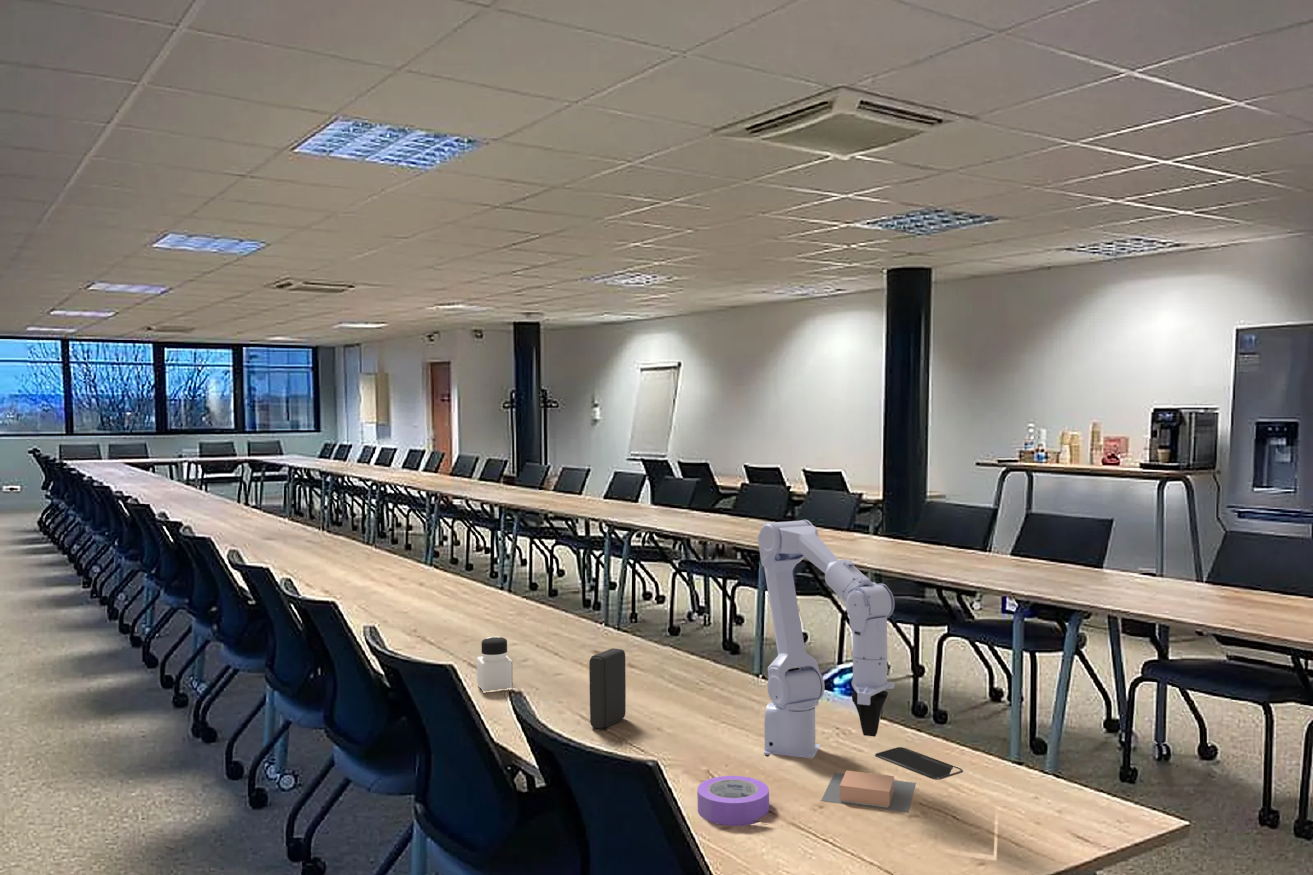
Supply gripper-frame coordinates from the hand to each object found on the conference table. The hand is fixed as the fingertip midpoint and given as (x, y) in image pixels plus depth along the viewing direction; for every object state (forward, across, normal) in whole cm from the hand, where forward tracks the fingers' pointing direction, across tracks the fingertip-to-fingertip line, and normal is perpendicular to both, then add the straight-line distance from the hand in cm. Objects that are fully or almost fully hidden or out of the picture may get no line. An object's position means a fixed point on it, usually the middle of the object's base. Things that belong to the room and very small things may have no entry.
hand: (869, 734), depth 161 cm
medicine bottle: (+10, +32, +93) cm, 99 cm away
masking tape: (+10, -16, +20) cm, 27 cm away
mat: (+9, -2, 0) cm, 10 cm away
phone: (+10, +14, -7) cm, 18 cm away
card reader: (+10, +18, +57) cm, 60 cm away
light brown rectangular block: (+7, -1, 0) cm, 7 cm away
